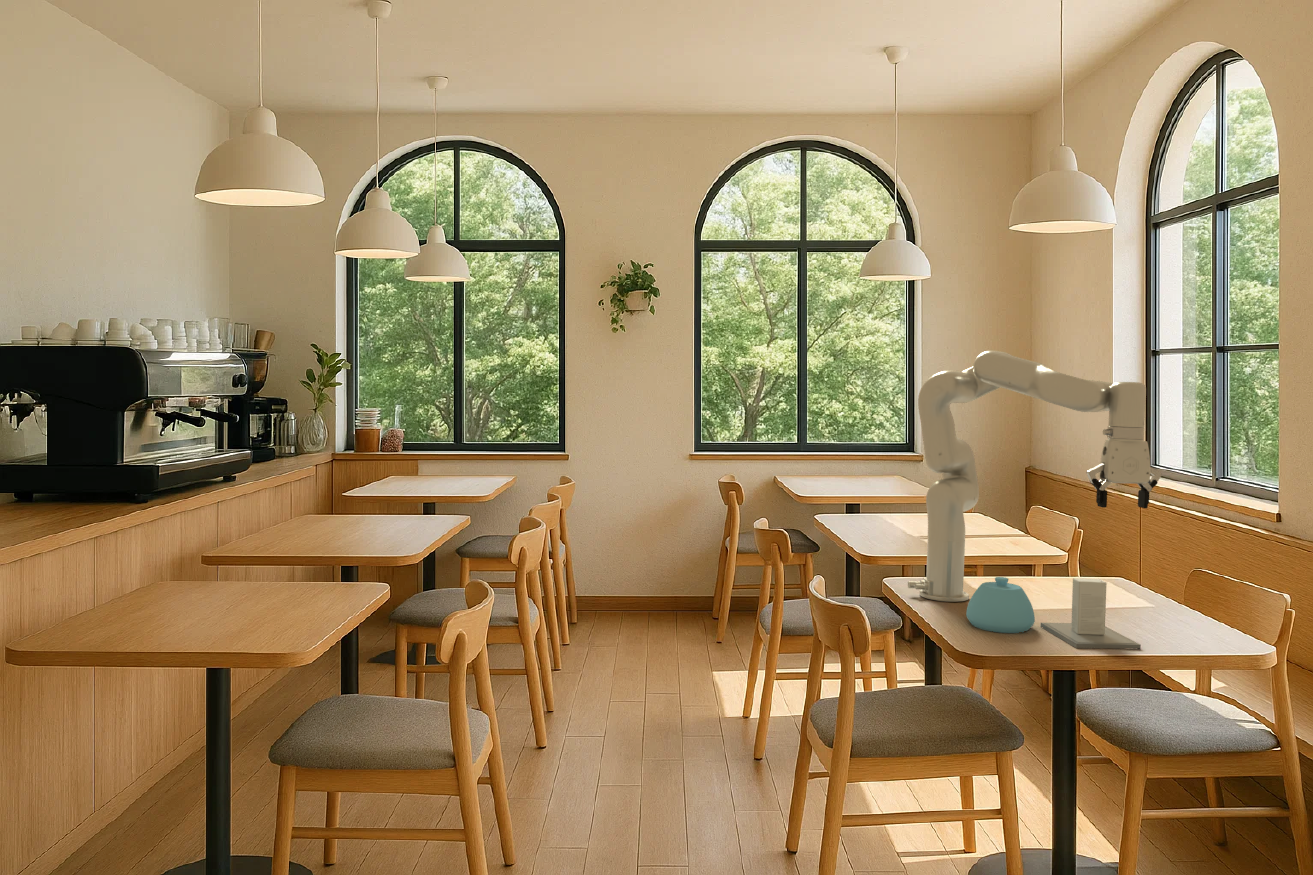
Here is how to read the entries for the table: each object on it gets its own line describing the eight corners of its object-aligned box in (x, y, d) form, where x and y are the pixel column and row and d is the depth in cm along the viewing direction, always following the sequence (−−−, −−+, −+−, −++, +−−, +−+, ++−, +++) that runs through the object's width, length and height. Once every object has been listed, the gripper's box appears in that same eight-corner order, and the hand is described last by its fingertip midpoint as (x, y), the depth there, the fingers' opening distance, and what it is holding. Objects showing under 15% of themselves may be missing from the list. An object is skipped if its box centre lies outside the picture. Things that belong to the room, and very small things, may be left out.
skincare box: (1097, 630, 213) (1099, 578, 212) (1105, 635, 209) (1107, 582, 208) (1069, 629, 214) (1072, 577, 213) (1077, 634, 209) (1079, 581, 209)
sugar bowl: (952, 621, 224) (954, 573, 223) (1002, 616, 230) (1004, 569, 229) (996, 637, 210) (999, 586, 209) (1048, 632, 216) (1050, 582, 215)
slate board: (1076, 648, 202) (1076, 643, 202) (1040, 626, 220) (1040, 622, 220) (1140, 649, 202) (1140, 644, 202) (1099, 627, 220) (1099, 623, 220)
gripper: (1097, 434, 216) (1093, 508, 217) (1171, 436, 216) (1167, 510, 217) (1081, 433, 223) (1078, 504, 224) (1153, 434, 224) (1149, 506, 225)
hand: (1122, 507), depth 221 cm, fingers open, 9 cm apart
